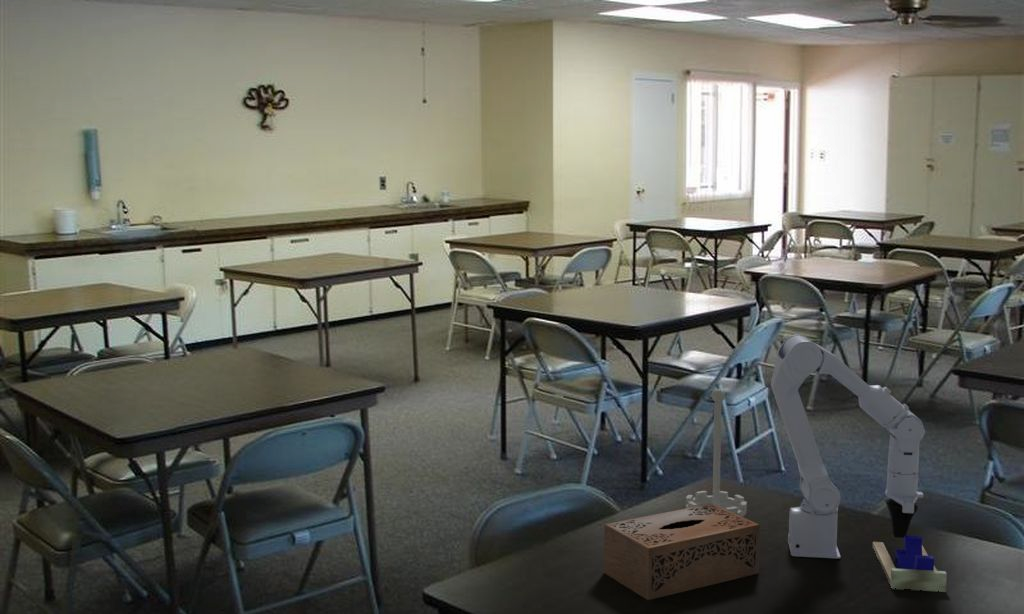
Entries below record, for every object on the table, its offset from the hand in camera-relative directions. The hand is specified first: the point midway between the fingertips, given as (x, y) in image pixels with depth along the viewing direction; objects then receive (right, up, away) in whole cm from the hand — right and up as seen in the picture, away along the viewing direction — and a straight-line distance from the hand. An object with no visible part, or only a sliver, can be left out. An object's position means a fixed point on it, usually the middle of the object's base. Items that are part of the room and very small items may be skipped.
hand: (899, 536), depth 209 cm
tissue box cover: (-45, -6, -9) cm, 46 cm away
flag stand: (-33, -2, +19) cm, 38 cm away
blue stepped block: (-1, -6, -11) cm, 12 cm away
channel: (-1, -5, -7) cm, 8 cm away
